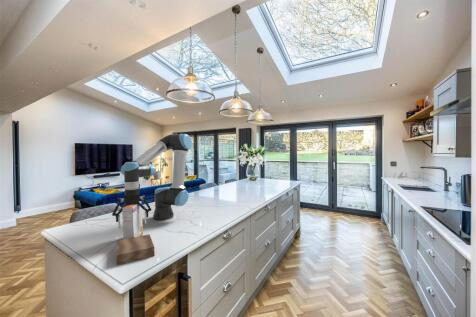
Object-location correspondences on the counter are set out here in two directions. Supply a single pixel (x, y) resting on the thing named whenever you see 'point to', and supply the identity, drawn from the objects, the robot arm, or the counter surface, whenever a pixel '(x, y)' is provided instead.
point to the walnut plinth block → (134, 249)
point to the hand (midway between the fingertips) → (132, 225)
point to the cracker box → (132, 221)
